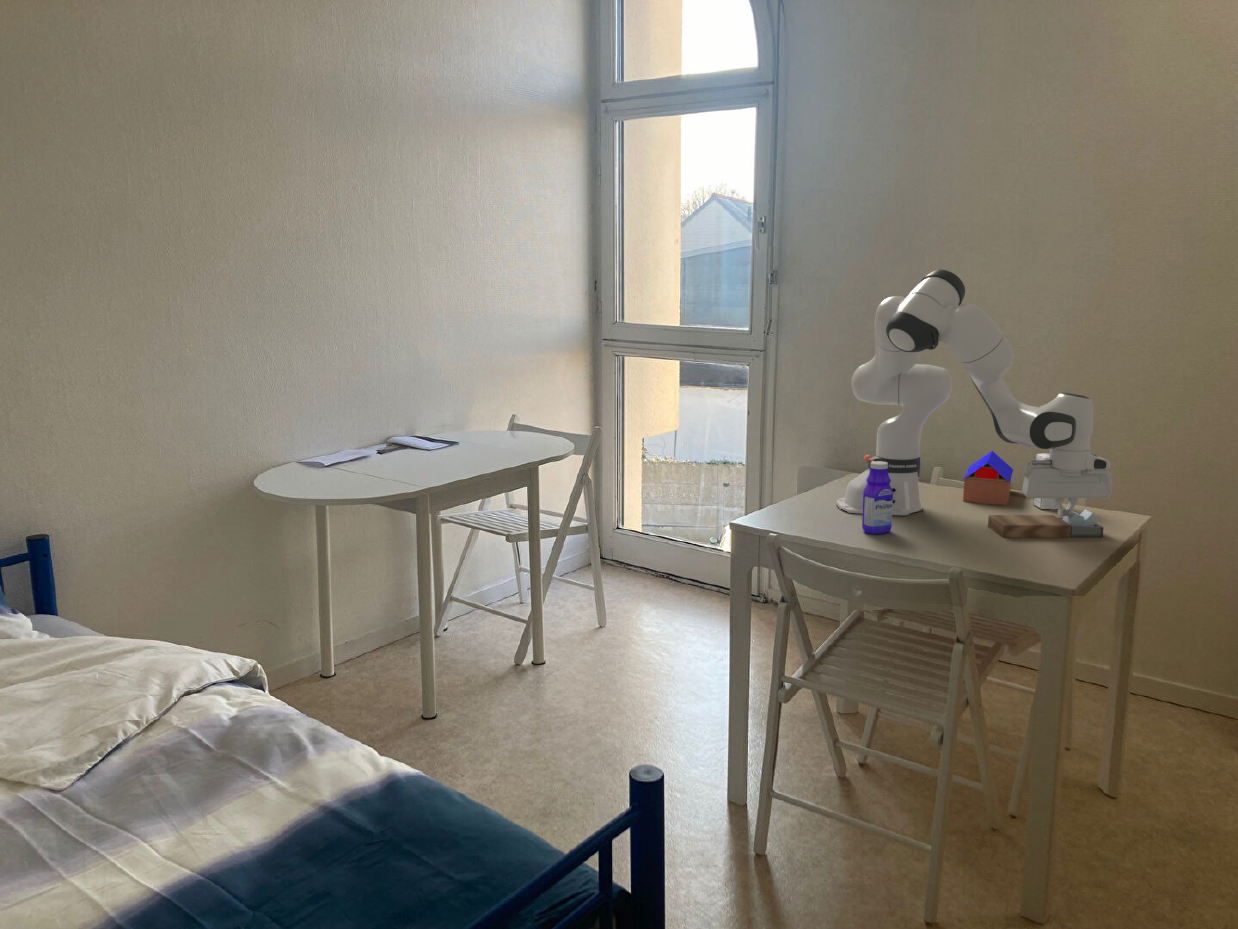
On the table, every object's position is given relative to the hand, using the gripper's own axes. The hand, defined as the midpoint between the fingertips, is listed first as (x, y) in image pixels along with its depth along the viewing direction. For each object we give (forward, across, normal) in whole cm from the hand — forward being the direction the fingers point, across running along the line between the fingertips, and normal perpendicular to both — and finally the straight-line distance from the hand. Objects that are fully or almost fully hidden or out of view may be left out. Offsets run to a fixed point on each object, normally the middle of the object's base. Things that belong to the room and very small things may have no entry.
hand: (1064, 515), depth 231 cm
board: (+4, -8, 0) cm, 9 cm away
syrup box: (+4, +7, +25) cm, 26 cm away
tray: (+4, +4, 0) cm, 6 cm away
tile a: (0, +4, 0) cm, 5 cm away
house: (+4, -4, +39) cm, 40 cm away
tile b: (+2, +3, 0) cm, 4 cm away
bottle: (+4, -45, 0) cm, 46 cm away
